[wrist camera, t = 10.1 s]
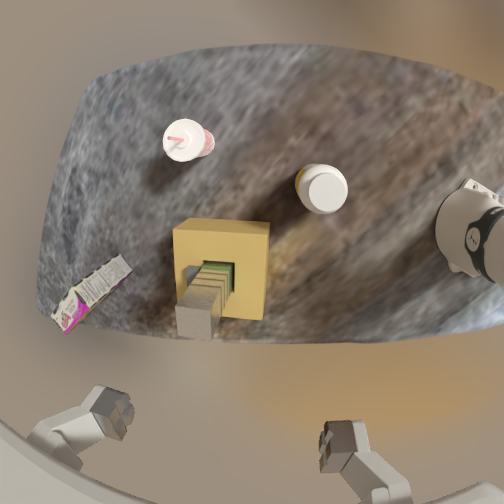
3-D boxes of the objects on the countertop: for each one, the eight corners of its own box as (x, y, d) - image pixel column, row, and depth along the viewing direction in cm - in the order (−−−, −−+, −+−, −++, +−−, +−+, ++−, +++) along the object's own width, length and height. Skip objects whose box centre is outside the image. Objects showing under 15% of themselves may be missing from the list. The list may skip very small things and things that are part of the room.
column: (235, 258, 44) (211, 309, 29) (235, 282, 45) (212, 341, 30) (209, 256, 44) (174, 305, 29) (209, 280, 46) (177, 336, 31)
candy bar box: (108, 297, 56) (66, 336, 40) (94, 280, 55) (48, 315, 39) (135, 270, 53) (89, 310, 37) (120, 251, 52) (70, 285, 36)
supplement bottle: (303, 209, 45) (310, 228, 33) (288, 172, 44) (290, 176, 31) (340, 195, 44) (361, 209, 32) (326, 157, 42) (343, 157, 30)
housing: (270, 222, 47) (266, 237, 38) (265, 297, 51) (261, 326, 42) (188, 217, 48) (167, 231, 39) (191, 290, 52) (174, 316, 44)
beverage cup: (213, 120, 42) (184, 106, 29) (223, 153, 44) (199, 152, 30) (179, 133, 43) (141, 125, 30) (190, 165, 45) (154, 169, 32)
